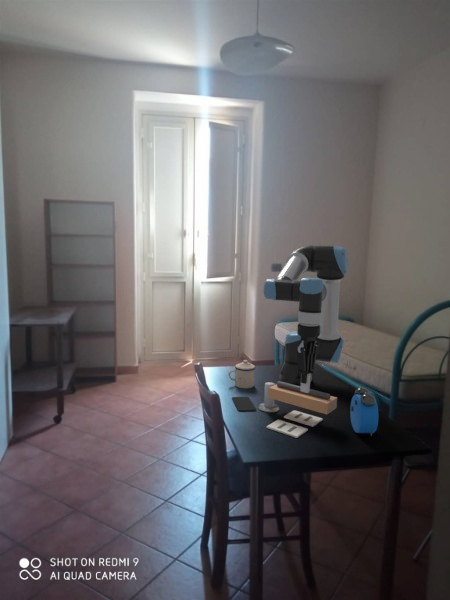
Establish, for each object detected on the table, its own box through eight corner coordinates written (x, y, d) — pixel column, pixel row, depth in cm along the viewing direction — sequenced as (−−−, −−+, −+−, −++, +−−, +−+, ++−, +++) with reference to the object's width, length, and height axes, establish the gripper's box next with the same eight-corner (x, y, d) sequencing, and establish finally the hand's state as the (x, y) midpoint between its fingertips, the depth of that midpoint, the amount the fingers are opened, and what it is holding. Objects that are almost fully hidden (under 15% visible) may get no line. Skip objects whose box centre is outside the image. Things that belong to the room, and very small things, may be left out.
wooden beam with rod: (259, 407, 173) (260, 380, 171) (270, 401, 179) (271, 375, 178) (326, 427, 156) (328, 398, 155) (335, 420, 162) (337, 392, 161)
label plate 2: (294, 411, 173) (294, 409, 173) (322, 420, 166) (322, 418, 165) (283, 417, 166) (283, 415, 166) (312, 426, 159) (313, 424, 159)
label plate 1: (278, 421, 163) (278, 419, 163) (307, 430, 156) (307, 428, 156) (266, 427, 157) (266, 426, 157) (296, 438, 150) (296, 436, 150)
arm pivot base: (265, 403, 181) (265, 401, 180) (282, 408, 176) (282, 406, 176) (254, 408, 174) (254, 406, 174) (272, 414, 169) (272, 412, 169)
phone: (248, 396, 187) (257, 409, 172) (248, 398, 187) (256, 411, 172) (231, 397, 185) (238, 410, 171) (231, 398, 185) (238, 412, 171)
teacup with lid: (252, 382, 206) (253, 357, 205) (256, 388, 197) (257, 363, 196) (226, 382, 205) (227, 357, 203) (229, 389, 196) (230, 363, 194)
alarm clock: (377, 440, 150) (380, 397, 148) (358, 439, 150) (362, 397, 148) (365, 424, 163) (368, 384, 161) (348, 423, 163) (351, 384, 161)
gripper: (307, 320, 157) (303, 384, 160) (289, 324, 147) (285, 393, 150) (327, 323, 153) (323, 389, 156) (310, 328, 142) (305, 399, 145)
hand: (304, 391), depth 153 cm, fingers closed
